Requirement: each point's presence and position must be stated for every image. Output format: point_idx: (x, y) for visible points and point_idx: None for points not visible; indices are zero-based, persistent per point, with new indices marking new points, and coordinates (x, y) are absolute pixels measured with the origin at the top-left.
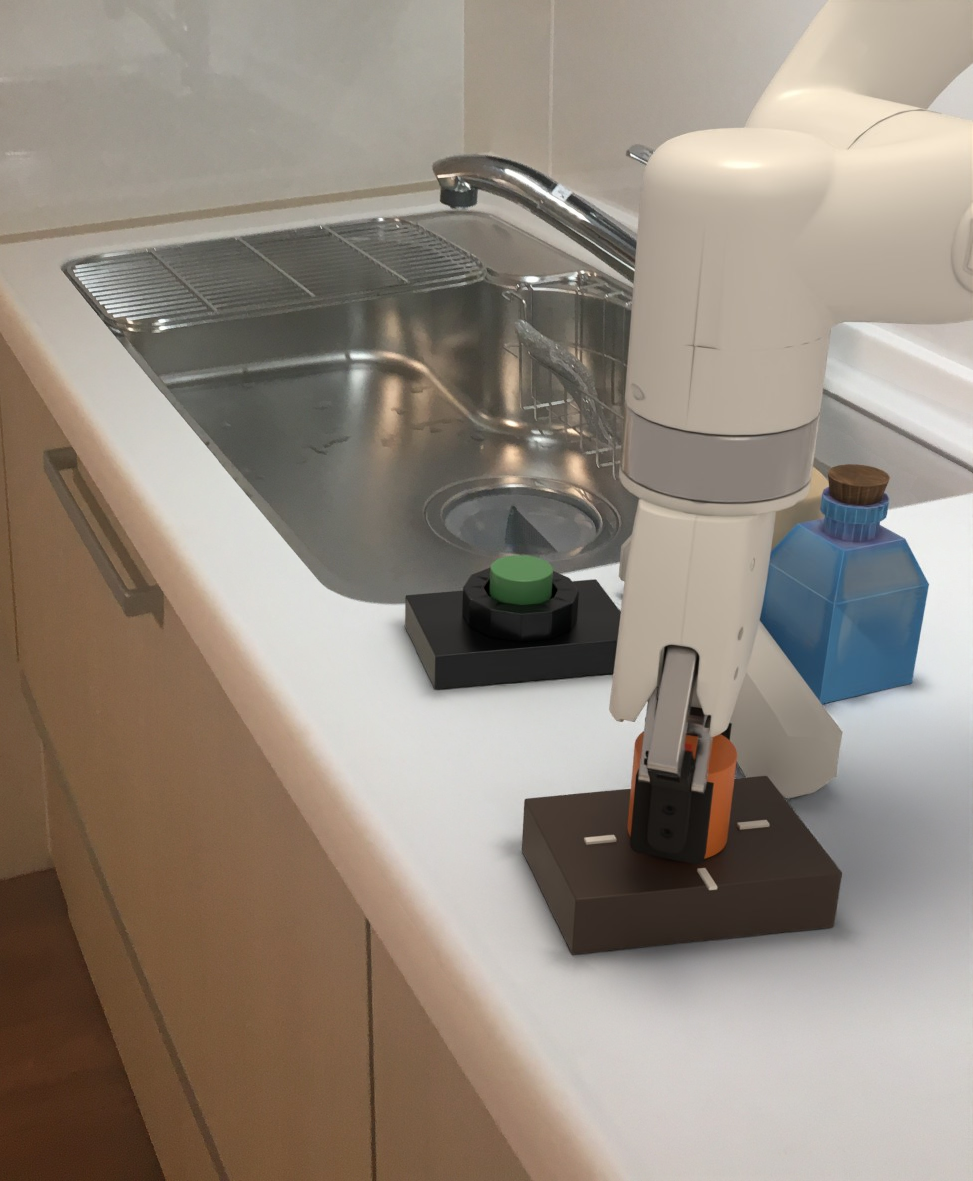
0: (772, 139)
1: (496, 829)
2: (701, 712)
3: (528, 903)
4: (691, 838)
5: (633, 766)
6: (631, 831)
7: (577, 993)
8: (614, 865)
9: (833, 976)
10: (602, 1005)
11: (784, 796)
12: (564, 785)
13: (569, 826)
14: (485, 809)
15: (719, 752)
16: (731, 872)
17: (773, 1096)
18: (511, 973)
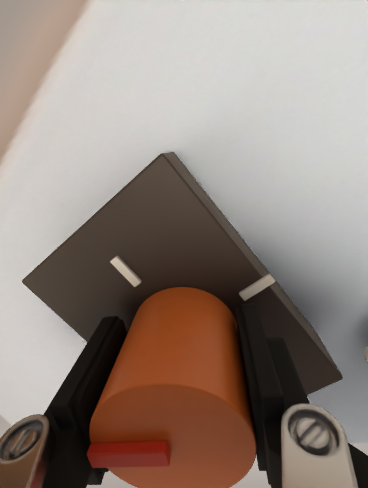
0: None
1: (198, 105)
2: (271, 479)
3: (98, 195)
4: None
5: (138, 356)
6: (94, 331)
7: (24, 272)
8: (95, 296)
9: None
10: (25, 290)
11: (364, 350)
12: (326, 140)
13: (133, 231)
14: (232, 70)
15: (186, 481)
16: None
17: (27, 388)
18: (7, 220)
